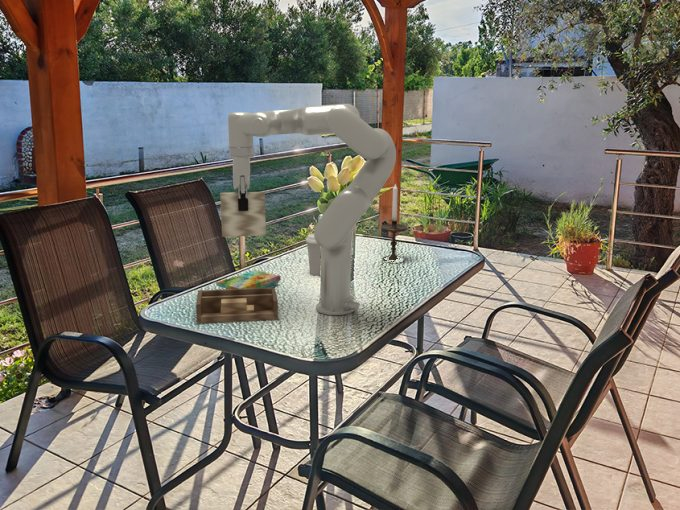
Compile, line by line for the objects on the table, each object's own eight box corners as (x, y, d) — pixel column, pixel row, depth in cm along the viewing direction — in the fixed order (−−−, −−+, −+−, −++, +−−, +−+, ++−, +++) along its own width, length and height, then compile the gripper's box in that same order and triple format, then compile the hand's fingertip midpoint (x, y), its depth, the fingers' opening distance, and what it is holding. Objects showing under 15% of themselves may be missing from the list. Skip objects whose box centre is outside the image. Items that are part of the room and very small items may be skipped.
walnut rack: (275, 307, 210) (274, 287, 209) (278, 322, 197) (277, 300, 195) (199, 311, 206) (198, 290, 205) (197, 326, 193) (196, 304, 191)
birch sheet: (265, 234, 212) (264, 191, 208) (266, 235, 210) (264, 192, 207) (222, 235, 210) (220, 192, 206) (222, 236, 208) (220, 193, 205)
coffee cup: (328, 277, 244) (328, 238, 241) (303, 276, 246) (303, 237, 242) (332, 270, 254) (333, 233, 250) (308, 269, 255) (308, 232, 251)
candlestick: (407, 264, 264) (410, 178, 255) (380, 264, 264) (382, 178, 255) (405, 257, 275) (408, 174, 266) (379, 257, 275) (381, 174, 266)
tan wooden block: (253, 312, 203) (253, 297, 202) (254, 317, 198) (254, 302, 197) (221, 314, 201) (220, 298, 200) (221, 319, 197) (220, 303, 195)
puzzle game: (280, 273, 233) (239, 286, 218) (280, 286, 235) (240, 299, 219) (257, 268, 240) (216, 279, 225) (257, 280, 242) (216, 292, 226)
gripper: (229, 150, 210) (231, 206, 215) (229, 154, 195) (231, 215, 200) (252, 150, 211) (254, 205, 216) (254, 154, 197) (256, 214, 201)
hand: (243, 210), depth 208 cm, fingers closed on birch sheet, 1 cm apart
